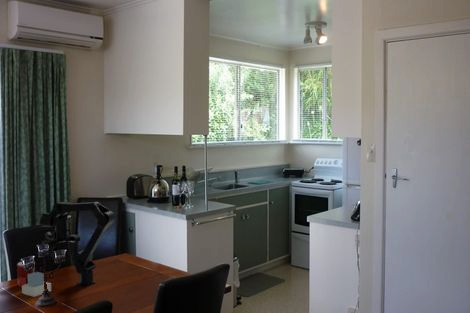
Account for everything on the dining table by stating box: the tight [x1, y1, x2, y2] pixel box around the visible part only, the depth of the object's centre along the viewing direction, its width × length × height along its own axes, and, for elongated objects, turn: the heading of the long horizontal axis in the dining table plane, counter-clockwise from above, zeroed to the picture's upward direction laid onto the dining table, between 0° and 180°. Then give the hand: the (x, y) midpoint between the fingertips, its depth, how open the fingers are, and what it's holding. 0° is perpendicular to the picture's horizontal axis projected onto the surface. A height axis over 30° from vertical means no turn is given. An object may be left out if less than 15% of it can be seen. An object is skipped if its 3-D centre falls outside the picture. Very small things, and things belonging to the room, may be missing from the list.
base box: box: [21, 281, 52, 298], centre depth 215 cm, size 9×9×4 cm
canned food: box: [16, 261, 36, 288], centre depth 225 cm, size 8×8×11 cm
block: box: [28, 271, 45, 287], centre depth 214 cm, size 5×5×5 cm
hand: (62, 258), depth 229 cm, fingers open, 9 cm apart
